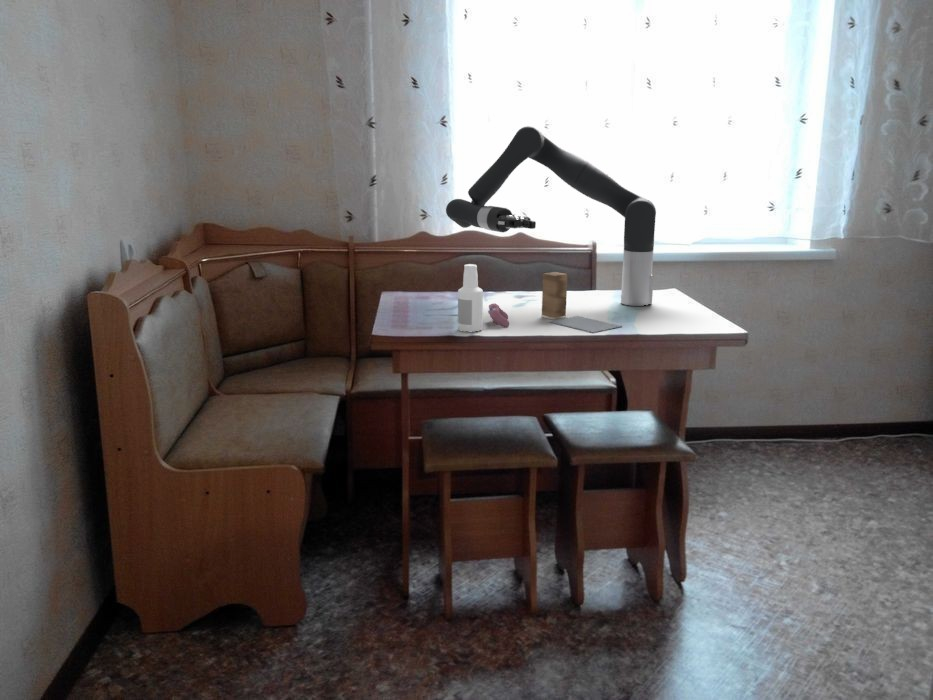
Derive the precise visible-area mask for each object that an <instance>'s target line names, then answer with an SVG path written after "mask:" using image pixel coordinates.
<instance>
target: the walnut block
mask: <svg viewBox="0 0 933 700" xmlns="http://www.w3.org/2000/svg"><path fill="white" fill-rule="evenodd" d="M567 289H568V273H563V272H558V271H552V272H551V271H550V272H546V273H545V272H544V273H542V294H541V295H542V296H541V297H542V298H541V299H542V300H541V317H542V318H545V319H549V320H552V321H553V320H558V319H563V318H567V317H566V316H567V315H566V314H567V293H568V292H567Z"/></svg>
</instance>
